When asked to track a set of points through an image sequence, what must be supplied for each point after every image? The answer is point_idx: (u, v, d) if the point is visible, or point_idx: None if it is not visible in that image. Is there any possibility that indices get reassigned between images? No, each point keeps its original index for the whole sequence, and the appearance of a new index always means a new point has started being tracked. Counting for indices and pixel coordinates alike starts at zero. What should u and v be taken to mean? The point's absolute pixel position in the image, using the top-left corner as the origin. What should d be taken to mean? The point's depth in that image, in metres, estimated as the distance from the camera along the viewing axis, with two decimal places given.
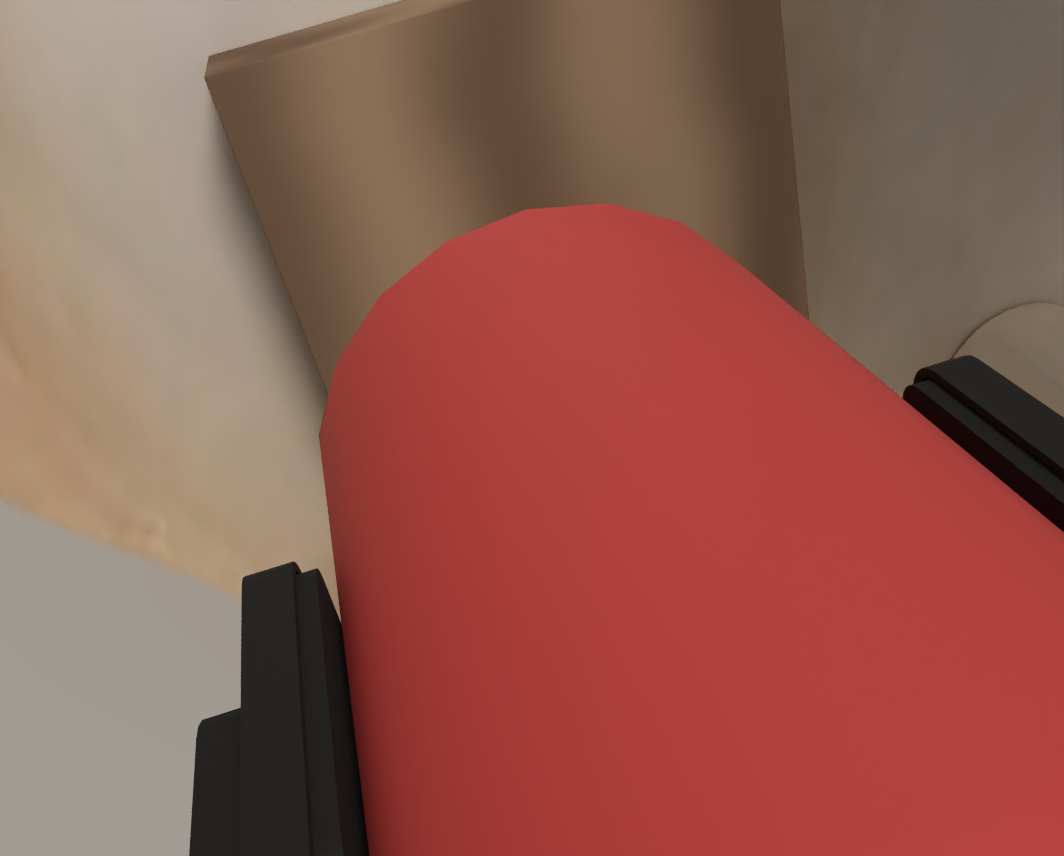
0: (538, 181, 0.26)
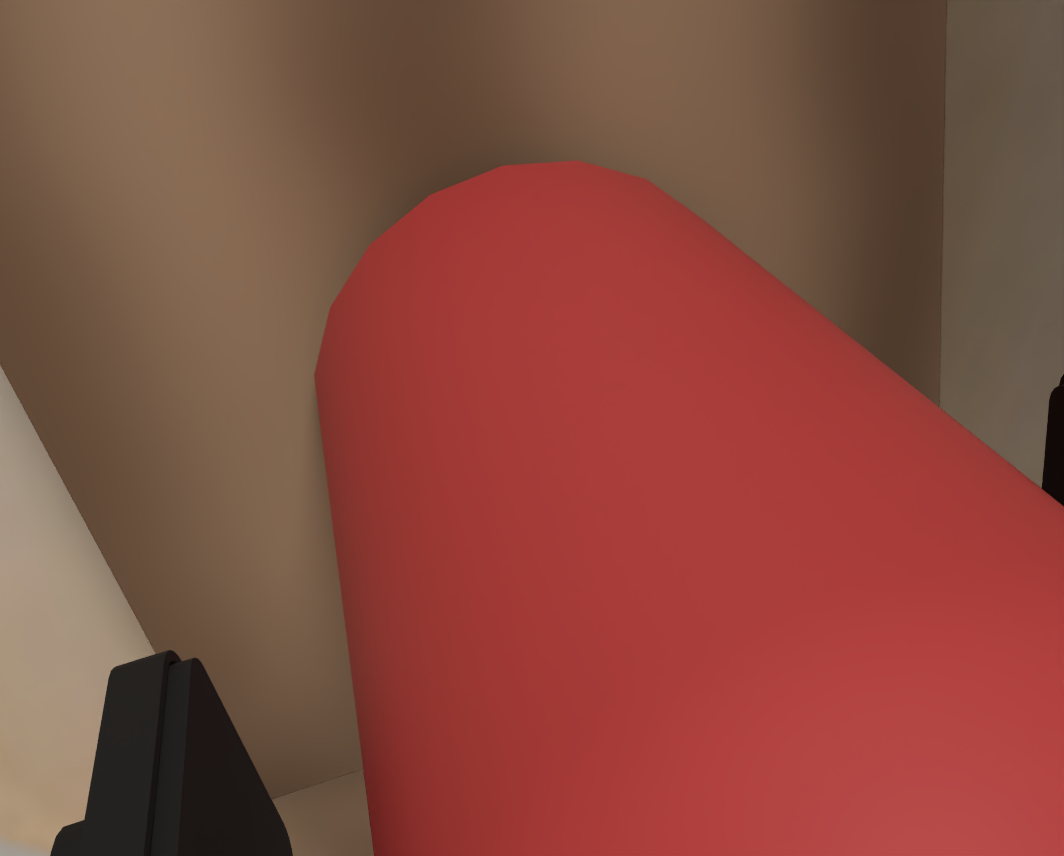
0: None
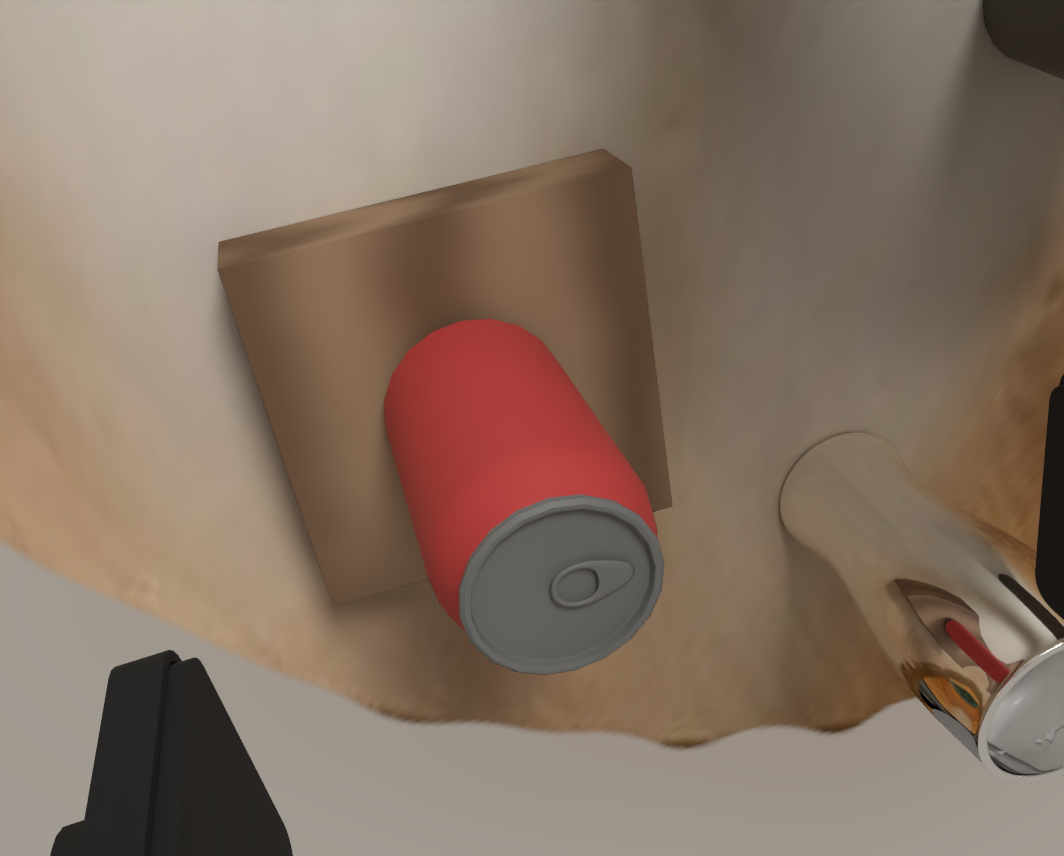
0: None
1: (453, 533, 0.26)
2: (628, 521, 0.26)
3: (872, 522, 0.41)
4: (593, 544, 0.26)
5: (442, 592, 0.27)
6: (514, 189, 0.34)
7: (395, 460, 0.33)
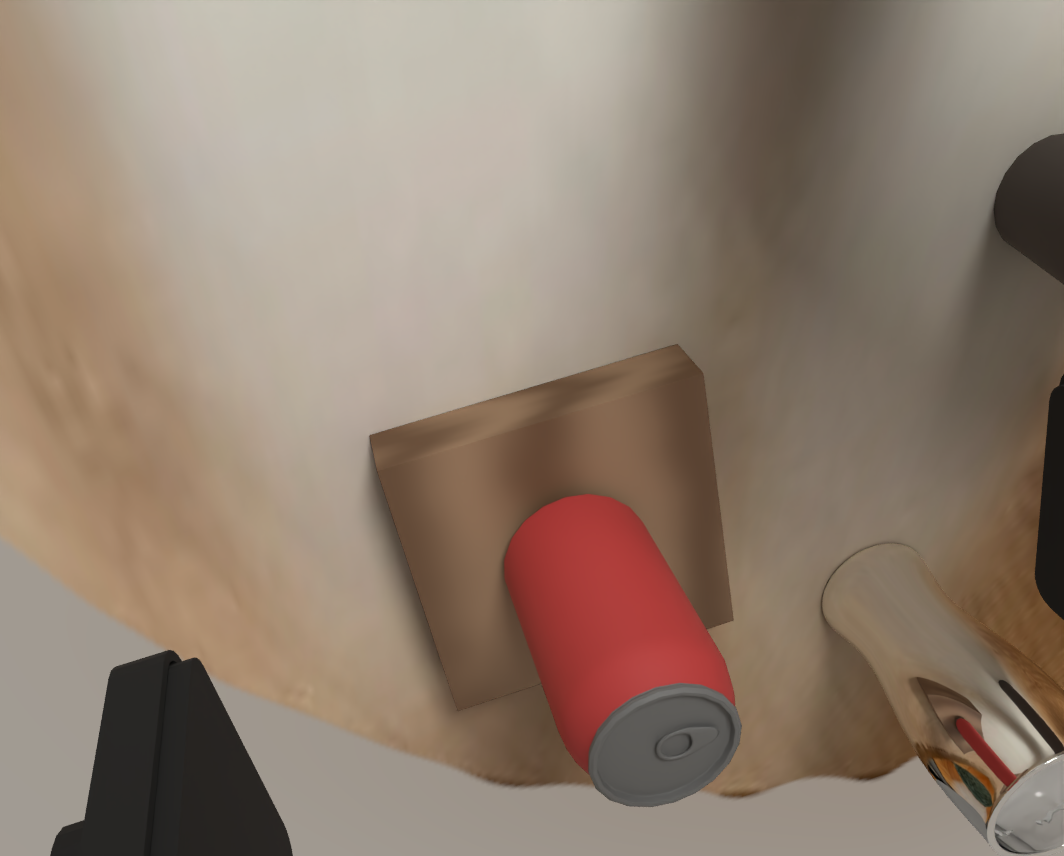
0: None
1: (582, 708, 0.35)
2: (715, 701, 0.34)
3: (901, 633, 0.49)
4: (688, 716, 0.35)
5: (572, 749, 0.36)
6: (607, 391, 0.43)
7: (518, 616, 0.42)
